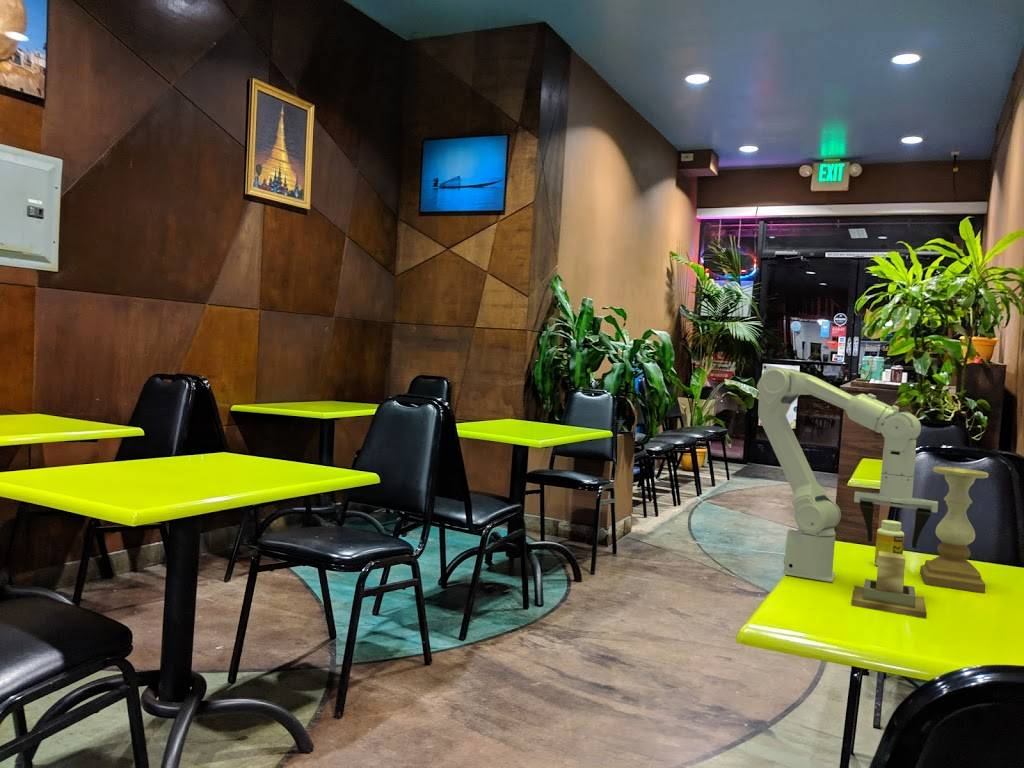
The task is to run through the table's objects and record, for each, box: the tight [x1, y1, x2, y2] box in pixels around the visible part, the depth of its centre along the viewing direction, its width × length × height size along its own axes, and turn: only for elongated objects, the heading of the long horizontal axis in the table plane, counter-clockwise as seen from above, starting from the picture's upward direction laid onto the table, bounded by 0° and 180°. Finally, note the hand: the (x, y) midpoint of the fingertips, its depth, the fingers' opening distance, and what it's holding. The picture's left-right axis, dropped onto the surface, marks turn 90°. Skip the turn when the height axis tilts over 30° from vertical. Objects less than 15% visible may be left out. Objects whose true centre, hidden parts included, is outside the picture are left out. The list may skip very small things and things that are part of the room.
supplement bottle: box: [874, 519, 905, 567], centre depth 177 cm, size 6×6×10 cm
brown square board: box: [851, 585, 928, 619], centre depth 145 cm, size 12×12×1 cm
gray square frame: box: [863, 578, 917, 608], centre depth 145 cm, size 8×8×2 cm
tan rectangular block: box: [876, 551, 907, 594], centre depth 145 cm, size 4×4×8 cm
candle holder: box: [919, 466, 989, 594], centre depth 165 cm, size 11×11×24 cm
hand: (891, 543), depth 153 cm, fingers open, 7 cm apart
